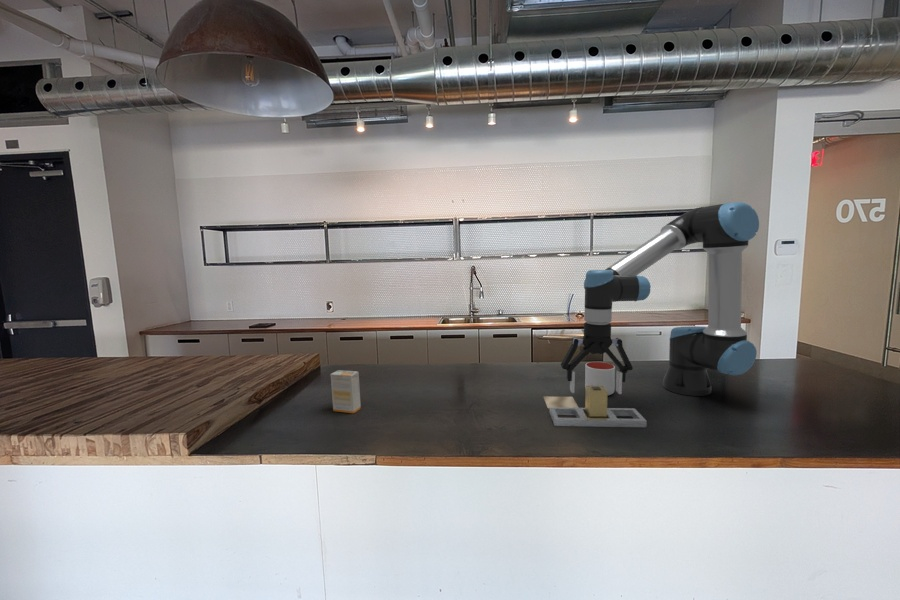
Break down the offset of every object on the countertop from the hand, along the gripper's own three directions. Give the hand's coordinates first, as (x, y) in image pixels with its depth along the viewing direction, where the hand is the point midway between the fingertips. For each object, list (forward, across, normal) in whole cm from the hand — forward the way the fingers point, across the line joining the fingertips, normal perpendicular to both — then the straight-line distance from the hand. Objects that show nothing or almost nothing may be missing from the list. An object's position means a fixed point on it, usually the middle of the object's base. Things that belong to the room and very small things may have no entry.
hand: (595, 392), depth 114 cm
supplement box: (+10, +80, -5) cm, 80 cm away
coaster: (+9, +8, -13) cm, 18 cm away
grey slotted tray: (+9, 0, 0) cm, 9 cm away
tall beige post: (+9, 0, 0) cm, 9 cm away
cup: (+9, -8, -24) cm, 27 cm away
